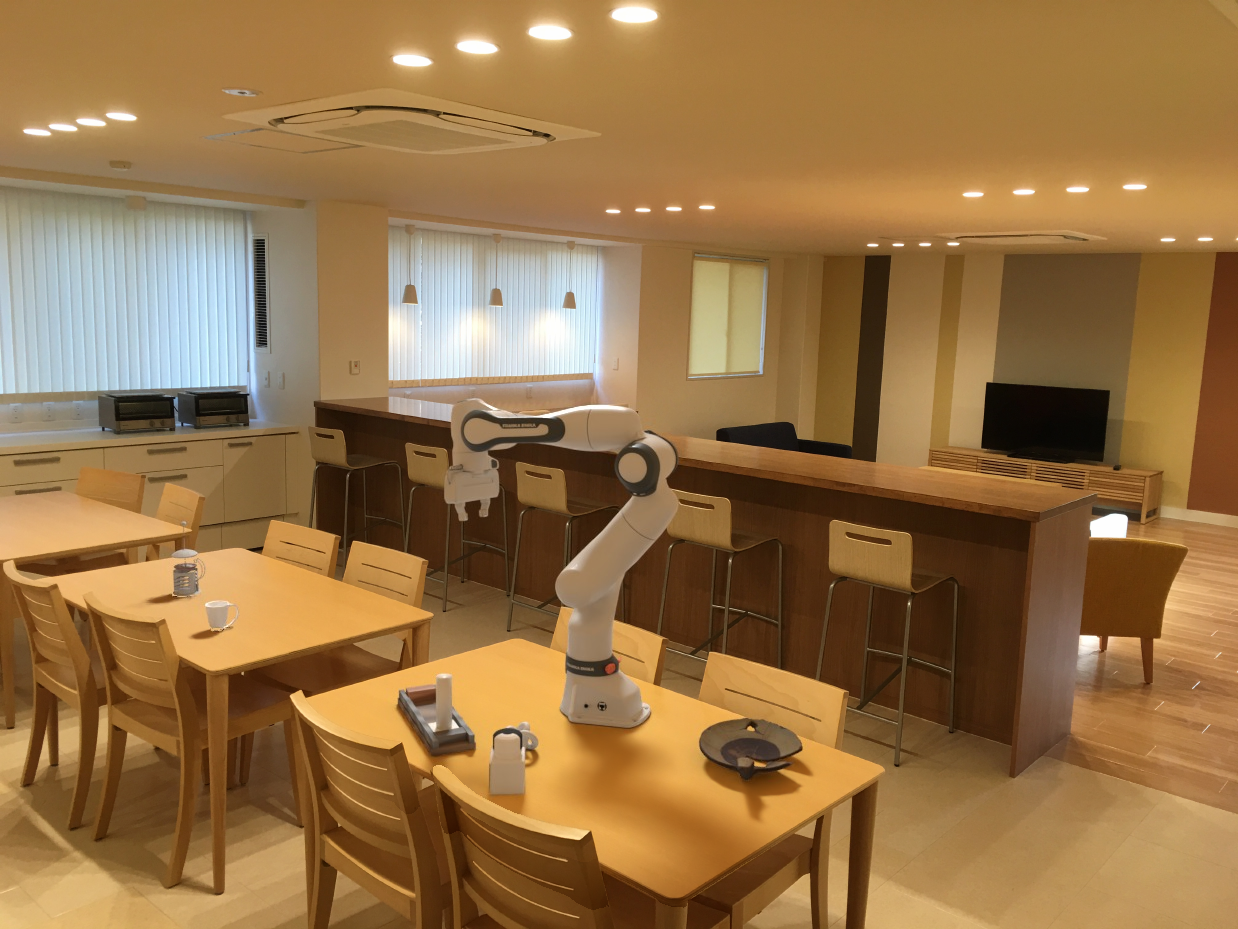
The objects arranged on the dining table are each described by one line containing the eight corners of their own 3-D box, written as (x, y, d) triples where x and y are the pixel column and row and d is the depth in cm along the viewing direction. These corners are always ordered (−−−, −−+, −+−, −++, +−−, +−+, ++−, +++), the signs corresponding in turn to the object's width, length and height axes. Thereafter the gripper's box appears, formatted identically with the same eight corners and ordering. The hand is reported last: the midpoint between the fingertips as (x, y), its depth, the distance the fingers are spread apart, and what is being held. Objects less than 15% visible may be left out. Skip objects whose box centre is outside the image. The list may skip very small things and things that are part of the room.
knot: (543, 746, 219) (544, 721, 218) (531, 761, 212) (531, 736, 211) (512, 741, 221) (513, 717, 220) (499, 756, 214) (499, 731, 213)
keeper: (460, 734, 220) (460, 679, 218) (434, 739, 217) (434, 683, 215) (453, 724, 225) (453, 670, 223) (427, 728, 223) (427, 673, 221)
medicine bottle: (490, 779, 203) (491, 724, 201) (524, 778, 204) (525, 724, 202) (489, 795, 196) (489, 739, 194) (524, 795, 197) (525, 739, 195)
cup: (201, 629, 292) (200, 603, 291) (233, 622, 300) (232, 597, 298) (211, 634, 288) (210, 608, 287) (244, 627, 295) (243, 602, 294)
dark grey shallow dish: (817, 755, 218) (819, 723, 217) (760, 809, 193) (762, 773, 192) (728, 730, 230) (730, 699, 229) (664, 778, 205) (665, 744, 204)
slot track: (475, 749, 217) (475, 730, 216) (432, 756, 212) (431, 737, 212) (437, 697, 245) (437, 680, 244) (397, 703, 241) (397, 686, 240)
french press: (181, 588, 334) (178, 517, 330) (212, 590, 332) (210, 519, 329) (164, 596, 324) (161, 523, 321) (196, 598, 323) (193, 525, 319)
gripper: (458, 465, 232) (461, 523, 233) (502, 461, 251) (505, 514, 251) (436, 466, 235) (439, 523, 235) (481, 462, 253) (484, 514, 254)
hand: (473, 518), depth 243 cm, fingers open, 8 cm apart
